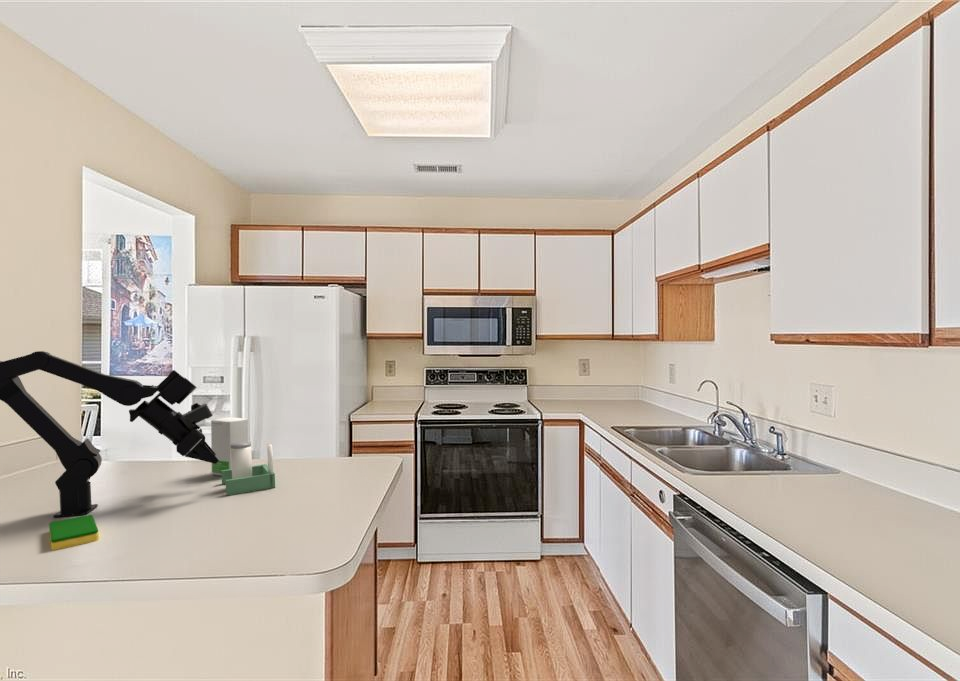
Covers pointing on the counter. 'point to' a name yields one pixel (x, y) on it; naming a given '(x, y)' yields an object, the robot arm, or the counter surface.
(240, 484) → the green u-shaped bracket
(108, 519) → the counter surface
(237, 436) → the skincare box
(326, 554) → the counter surface
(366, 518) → the counter surface
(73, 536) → the dish sponge
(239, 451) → the ball tube
